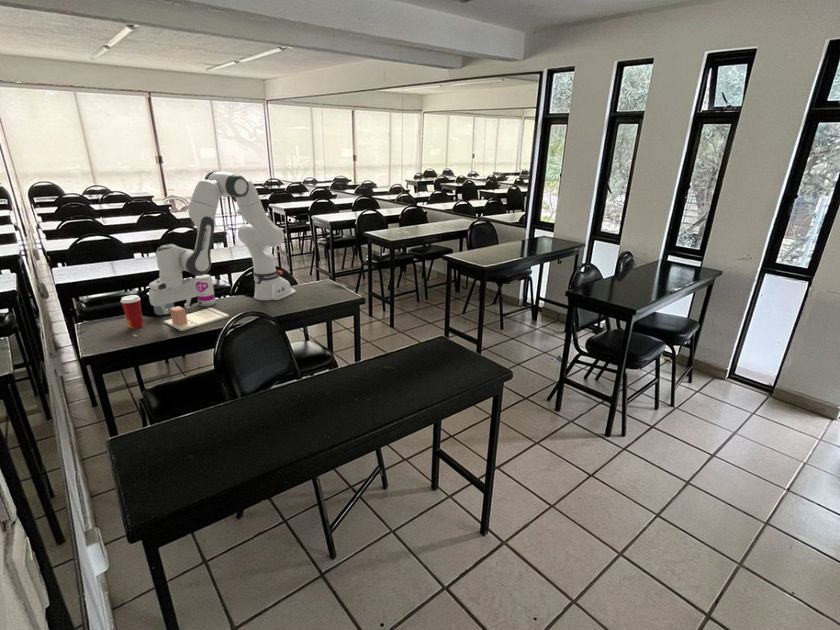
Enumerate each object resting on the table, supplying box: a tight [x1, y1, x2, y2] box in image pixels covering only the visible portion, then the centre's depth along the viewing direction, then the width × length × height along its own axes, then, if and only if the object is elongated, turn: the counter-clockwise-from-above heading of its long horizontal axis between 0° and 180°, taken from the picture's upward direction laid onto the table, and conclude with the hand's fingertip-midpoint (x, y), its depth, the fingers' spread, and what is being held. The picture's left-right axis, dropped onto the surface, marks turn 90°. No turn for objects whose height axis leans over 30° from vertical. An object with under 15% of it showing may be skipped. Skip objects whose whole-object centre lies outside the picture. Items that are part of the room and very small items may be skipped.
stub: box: [163, 305, 197, 332], centre depth 211 cm, size 7×16×8 cm, turn 53°
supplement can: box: [194, 273, 216, 307], centre depth 236 cm, size 8×8×15 cm
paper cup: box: [119, 294, 144, 330], centre depth 208 cm, size 8×8×14 cm
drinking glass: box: [148, 289, 175, 316], centre depth 225 cm, size 10×10×12 cm
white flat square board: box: [186, 307, 230, 327], centre depth 221 cm, size 16×16×1 cm
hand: (177, 310), depth 209 cm, fingers open, 8 cm apart
